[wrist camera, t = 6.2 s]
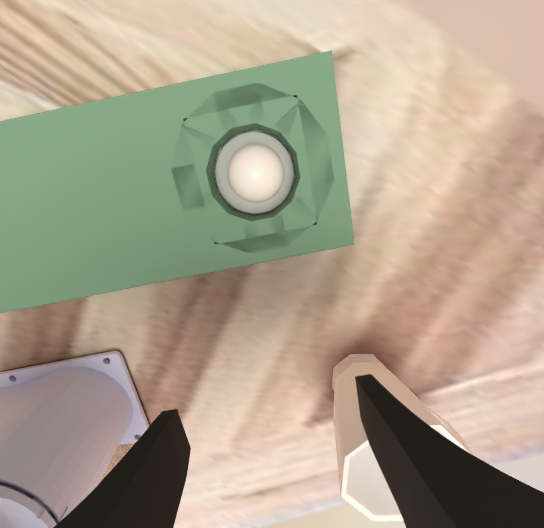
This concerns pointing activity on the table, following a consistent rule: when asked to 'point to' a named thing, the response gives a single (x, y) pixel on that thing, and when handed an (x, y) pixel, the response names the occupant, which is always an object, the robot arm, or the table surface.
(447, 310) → the table surface
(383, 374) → the cup
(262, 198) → the ball
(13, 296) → the putting strip
